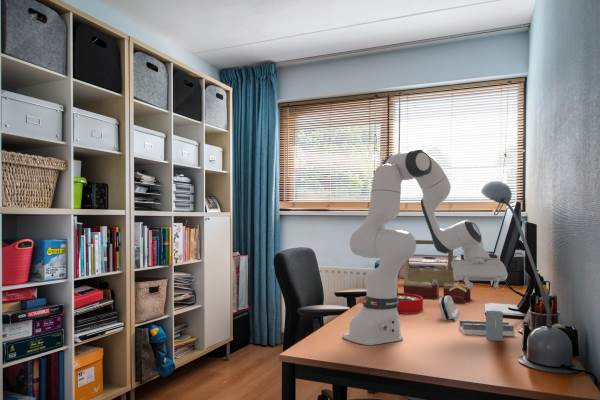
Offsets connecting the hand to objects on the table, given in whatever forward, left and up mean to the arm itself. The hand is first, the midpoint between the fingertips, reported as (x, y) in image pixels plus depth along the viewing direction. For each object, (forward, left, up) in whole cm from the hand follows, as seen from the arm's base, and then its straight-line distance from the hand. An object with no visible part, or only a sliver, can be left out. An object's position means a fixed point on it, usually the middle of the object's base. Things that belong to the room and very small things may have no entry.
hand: (483, 287), depth 170 cm
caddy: (+78, +80, -17) cm, 113 cm away
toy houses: (+40, +55, -17) cm, 70 cm away
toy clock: (+6, +45, -17) cm, 48 cm away
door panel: (-9, -9, -16) cm, 21 cm away
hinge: (+10, +22, -17) cm, 29 cm away
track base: (-2, -2, -16) cm, 17 cm away
